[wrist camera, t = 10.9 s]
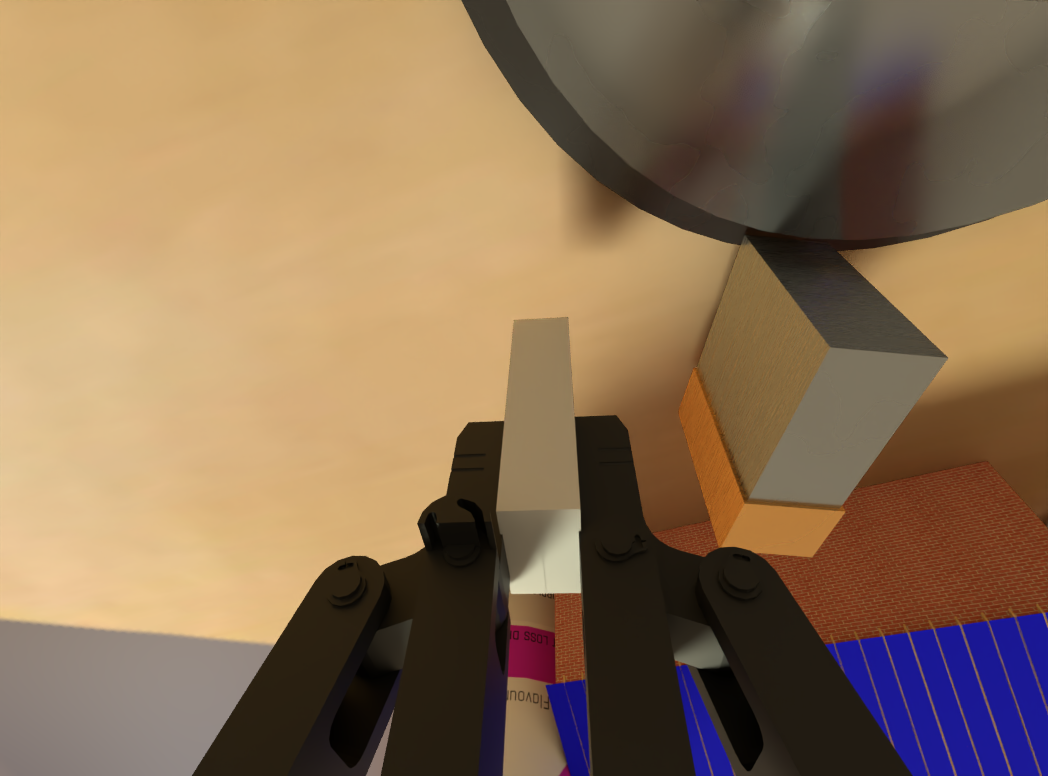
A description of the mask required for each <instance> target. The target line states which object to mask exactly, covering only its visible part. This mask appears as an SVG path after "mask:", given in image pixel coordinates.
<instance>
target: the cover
mask: <svg viewBox="0 0 1048 776" xmlns="http://www.w3.org/2000/svg"><path fill="white" fill-rule="evenodd" d="M1024 1H1041V2H1048V0H1024Z"/></svg>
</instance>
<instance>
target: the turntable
mask: <svg viewBox="0 0 1048 776" xmlns="http://www.w3.org/2000/svg"><path fill="white" fill-rule="evenodd" d="M506 1H507V3H508V5H509V7H510V10H511V12H512V14H513V16H514V18H515V20H516V23H517V25H518V26H519V28H520V30H521V31H522V33H523V34H524V36H525V38H526V39H527V41H528V43H529V44H530V46H531V48H532V49H533V51H534V52H535V54H536V56H537V57H538V59H539V61H540V62H541V64H542V65H543V67H544V69H545V70H546V72H547V74H548V75H549V77H550V79H551V80H552V82H553V83H554V84H555V86H556V87H557V88H558V89H559V91H560V92H561V93H562V94H563V96H564V97H565V98H566V99H567V100H568V102H569V103H570V104H571V105H572V107H573V108H574V109H575V110H576V112H577V113H578V114H579V115H580V117H581V118H582V119H583V120H584V121H585V123H586V124H587V125H588V126H589V128H590V129H591V130H592V131H593V132H594V133H595V134H596V135H598V136H599V137H600V138H601V139H602V140H603V141H604V142H605V143H606V144H607V145H608V146H609V147H610V148H611V149H613V150H614V151H615V152H616V153H617V154H618V155H619V156H620V157H621V158H622V159H623V160H624V161H625V162H626V163H628V164H629V165H630V166H631V167H632V168H634V169H635V170H637V171H638V172H640V173H641V174H643V175H644V176H645V177H647V178H648V179H650V180H651V181H653V182H654V183H656V184H657V185H658V186H660V187H661V188H663V189H664V190H666V191H667V192H669V193H670V194H672V195H673V196H675V197H677V198H679V199H682V200H684V201H686V202H688V203H690V204H692V205H694V206H696V207H698V208H700V209H702V210H704V211H706V212H708V213H710V214H712V215H715V216H717V217H720V218H723V219H726V220H730V221H733V222H736V223H739V224H742V225H746V226H749V227H752V228H755V229H758V230H762V231H767V232H773V233H779V234H786V235H792V236H798V237H804V238H810V239H843V240H867V239H878V238H889V237H900V236H911V235H918V234H923V233H928V232H933V231H938V230H943V229H948V228H953V227H958V226H963V225H968V224H973V223H976V222H979V221H982V220H986V219H989V218H992V217H996V216H999V215H1002V214H1006V213H1009V212H1012V211H1015V210H1019V209H1022V208H1025V207H1029V206H1032V205H1035V204H1037V203H1040V202H1042V201H1045V200H1047V199H1048V2H1041V1H1024V0H506ZM947 359H948V357H947V356H946V355H945V354H944V353H943V352H942V351H940V350H939V349H938V348H937V347H936V346H935V345H934V344H933V343H932V342H931V341H930V340H929V339H928V338H927V337H926V336H925V335H924V334H923V333H922V332H921V331H920V330H919V329H917V328H916V327H915V326H914V325H913V324H912V323H911V322H910V321H909V320H908V319H907V318H906V317H905V316H904V315H903V314H902V313H901V312H900V311H899V310H898V309H897V308H896V307H894V306H893V305H892V304H891V303H890V302H889V301H888V300H887V299H886V298H885V297H884V296H883V295H882V294H881V293H880V292H879V291H878V290H877V289H876V288H875V287H874V286H873V285H871V284H870V283H869V282H868V281H867V280H866V279H865V278H864V277H863V276H862V275H861V274H860V273H859V272H858V271H857V270H856V269H855V268H854V267H853V266H852V265H851V264H850V263H848V262H847V261H846V260H845V259H844V258H843V257H842V256H841V255H840V254H839V253H838V252H837V251H836V250H835V249H834V248H833V247H832V246H831V245H830V244H829V243H828V242H817V241H806V240H796V239H785V238H775V237H764V236H754V235H744V237H743V240H742V243H741V246H740V248H739V251H738V254H737V257H736V260H735V262H734V265H733V268H732V271H731V273H730V276H729V279H728V282H727V285H726V287H725V290H724V293H723V296H722V299H721V301H720V304H719V307H718V310H717V312H716V315H715V318H714V321H713V324H712V326H711V329H710V332H709V335H708V338H707V340H706V343H705V346H704V349H703V351H702V354H701V357H700V360H699V363H698V365H697V368H693V371H692V374H691V377H690V379H689V382H688V385H687V388H686V391H685V394H684V396H683V399H682V402H681V405H680V408H679V411H678V414H679V417H680V420H681V424H682V427H683V430H684V433H685V437H686V440H687V443H688V447H689V450H690V453H691V457H692V460H693V463H694V467H695V470H696V473H697V477H698V480H699V483H700V487H701V490H702V493H703V497H704V500H705V503H706V507H707V510H708V513H709V516H710V520H711V523H712V526H713V530H714V533H715V536H716V540H717V543H718V546H719V548H720V547H739V548H742V549H746V550H750V551H752V552H754V553H764V554H777V555H789V556H802V557H813V555H814V554H815V553H816V551H817V550H818V549H819V547H820V546H821V545H822V543H823V542H824V540H825V539H826V538H827V536H828V535H829V534H830V532H831V531H832V530H833V528H834V527H835V526H836V524H837V523H838V521H839V520H840V519H841V517H842V516H843V515H844V513H845V512H846V511H845V510H844V508H843V506H842V505H843V503H844V502H845V501H846V499H847V498H848V497H849V495H850V494H851V492H852V491H853V490H854V488H855V487H856V485H857V484H858V483H859V481H860V480H861V478H862V477H863V476H864V474H865V473H866V472H867V470H868V469H869V467H870V466H871V465H872V463H873V462H874V460H875V459H876V458H877V456H878V455H879V454H880V452H881V451H882V449H883V448H884V447H885V445H886V444H887V442H888V441H889V440H890V438H891V437H892V435H893V434H894V433H895V431H896V430H897V429H898V427H899V426H900V424H901V423H902V422H903V420H904V419H905V417H906V416H907V415H908V413H909V412H910V410H911V409H912V408H913V406H914V405H915V404H916V402H917V401H918V399H919V398H920V397H921V395H922V394H923V392H924V391H925V390H926V388H927V387H928V386H929V384H930V383H931V381H932V380H933V379H934V377H935V376H936V374H937V373H938V372H939V370H940V369H941V367H942V366H943V365H944V363H945V362H946V361H947Z"/></svg>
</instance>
